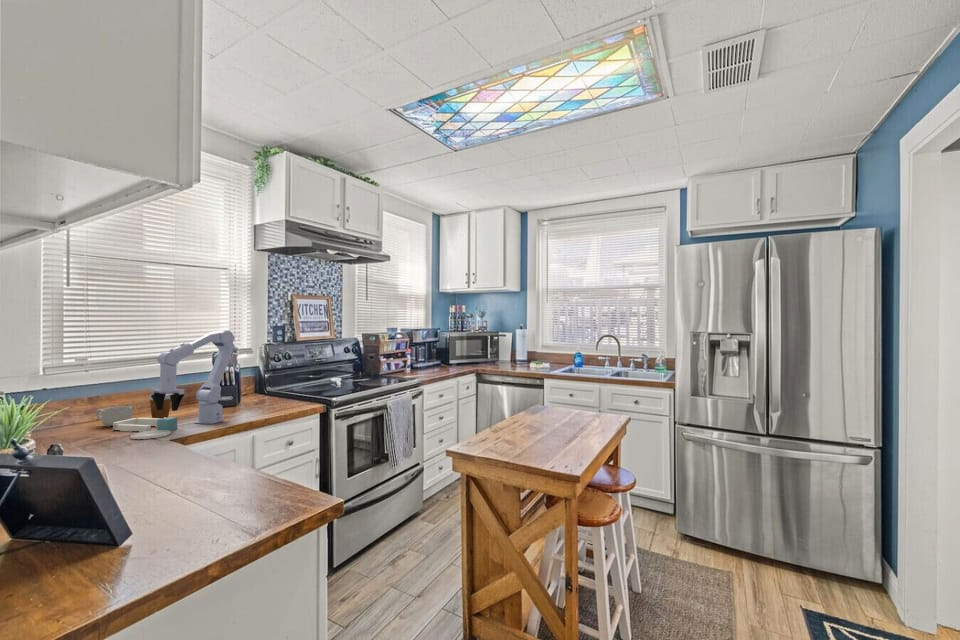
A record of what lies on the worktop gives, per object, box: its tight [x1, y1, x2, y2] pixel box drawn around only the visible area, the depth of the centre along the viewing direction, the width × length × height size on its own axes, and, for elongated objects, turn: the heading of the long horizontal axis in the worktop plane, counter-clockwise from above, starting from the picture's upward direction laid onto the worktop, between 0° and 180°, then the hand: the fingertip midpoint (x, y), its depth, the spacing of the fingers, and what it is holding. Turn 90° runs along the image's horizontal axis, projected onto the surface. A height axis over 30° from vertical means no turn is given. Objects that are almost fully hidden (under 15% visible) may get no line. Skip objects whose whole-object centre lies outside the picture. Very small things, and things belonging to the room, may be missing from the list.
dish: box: [130, 429, 172, 439], centre depth 173 cm, size 13×13×1 cm
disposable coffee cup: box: [148, 394, 173, 418], centre depth 207 cm, size 10×10×12 cm
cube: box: [156, 416, 178, 431], centre depth 184 cm, size 5×5×5 cm
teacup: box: [95, 405, 133, 428], centre depth 192 cm, size 14×11×8 cm
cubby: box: [112, 417, 162, 433], centre depth 186 cm, size 17×11×4 cm, turn 81°
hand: (167, 410), depth 184 cm, fingers open, 7 cm apart
